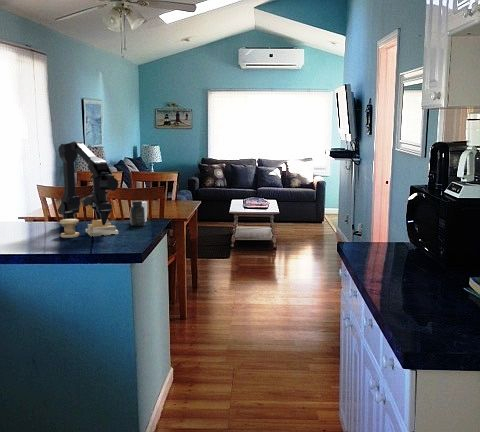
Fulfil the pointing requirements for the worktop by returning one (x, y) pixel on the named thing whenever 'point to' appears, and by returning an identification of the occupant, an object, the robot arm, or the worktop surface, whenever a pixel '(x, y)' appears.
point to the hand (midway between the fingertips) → (101, 223)
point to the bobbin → (69, 228)
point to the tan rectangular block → (99, 223)
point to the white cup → (144, 204)
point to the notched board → (101, 230)
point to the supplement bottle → (137, 214)
